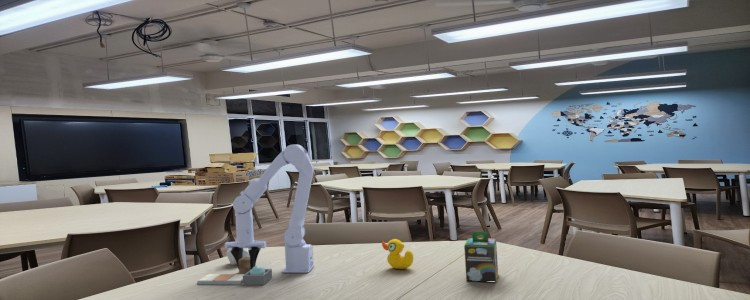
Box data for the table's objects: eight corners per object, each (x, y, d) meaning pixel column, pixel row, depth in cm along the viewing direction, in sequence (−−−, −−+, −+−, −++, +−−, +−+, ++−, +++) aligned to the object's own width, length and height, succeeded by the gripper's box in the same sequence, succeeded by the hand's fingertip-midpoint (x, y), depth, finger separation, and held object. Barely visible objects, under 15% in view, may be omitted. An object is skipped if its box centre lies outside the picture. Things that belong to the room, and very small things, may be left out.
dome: (267, 276, 145) (267, 263, 145) (262, 281, 140) (261, 268, 140) (253, 276, 145) (253, 263, 145) (247, 281, 141) (247, 268, 140)
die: (237, 269, 159) (252, 246, 162) (218, 258, 160) (233, 235, 163) (244, 271, 167) (258, 249, 170) (225, 260, 168) (239, 238, 171)
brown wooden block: (254, 270, 155) (254, 256, 155) (250, 274, 151) (249, 260, 151) (244, 270, 155) (243, 256, 155) (239, 274, 151) (238, 260, 151)
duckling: (379, 269, 150) (378, 240, 150) (386, 264, 155) (385, 236, 155) (410, 272, 145) (408, 242, 145) (416, 267, 150) (415, 238, 150)
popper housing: (272, 277, 146) (271, 268, 146) (264, 284, 139) (263, 275, 139) (252, 277, 147) (251, 269, 146) (243, 284, 140) (242, 275, 140)
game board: (250, 277, 147) (249, 273, 147) (240, 284, 140) (240, 280, 140) (208, 277, 149) (208, 274, 149) (197, 284, 142) (197, 280, 142)
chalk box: (498, 274, 139) (496, 227, 139) (496, 283, 130) (494, 234, 130) (468, 272, 142) (467, 227, 142) (465, 281, 134) (463, 233, 133)
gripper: (219, 232, 150) (221, 271, 150) (260, 232, 148) (262, 271, 148) (229, 228, 157) (231, 265, 157) (267, 227, 155) (269, 265, 155)
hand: (246, 268), depth 153 cm, fingers closed on brown wooden block, 4 cm apart
